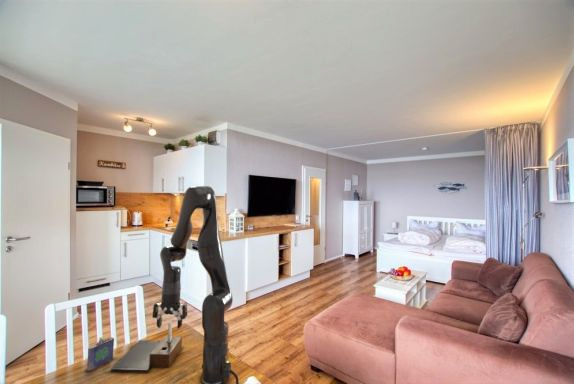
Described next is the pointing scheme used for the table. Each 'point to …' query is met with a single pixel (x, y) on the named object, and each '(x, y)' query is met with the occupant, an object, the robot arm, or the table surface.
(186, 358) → the table surface
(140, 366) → the tablet
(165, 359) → the pen stand
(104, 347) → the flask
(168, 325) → the stylus
